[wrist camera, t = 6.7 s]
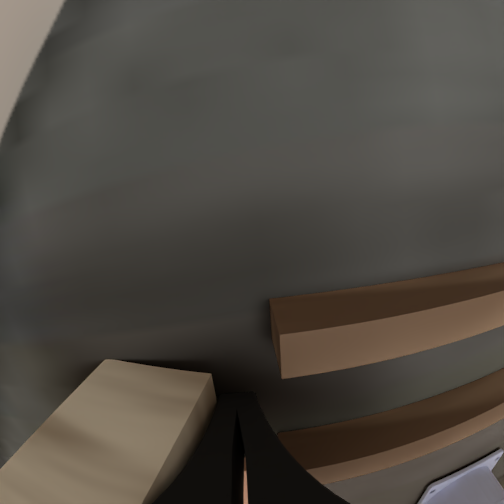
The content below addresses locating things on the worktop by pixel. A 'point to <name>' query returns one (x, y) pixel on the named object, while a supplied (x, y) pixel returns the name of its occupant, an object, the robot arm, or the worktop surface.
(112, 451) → the birch block
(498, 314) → the slot rack
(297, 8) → the worktop surface
